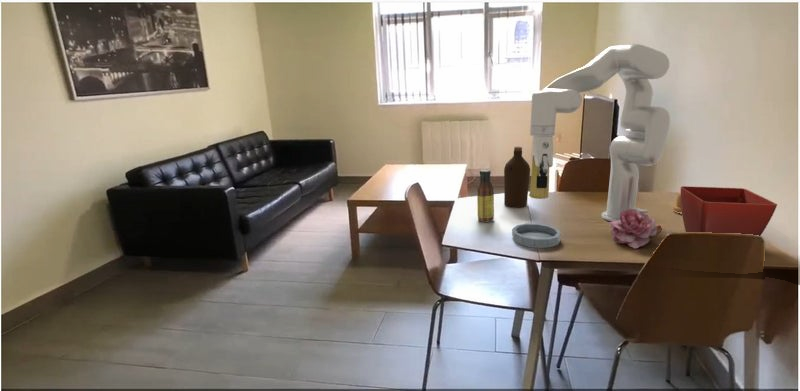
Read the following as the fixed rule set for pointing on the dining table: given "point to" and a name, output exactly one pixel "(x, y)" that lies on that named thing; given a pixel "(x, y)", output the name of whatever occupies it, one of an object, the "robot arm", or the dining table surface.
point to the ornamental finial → (678, 204)
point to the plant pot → (725, 210)
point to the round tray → (536, 235)
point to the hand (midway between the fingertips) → (539, 184)
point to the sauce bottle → (485, 197)
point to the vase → (534, 191)
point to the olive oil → (516, 180)
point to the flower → (634, 228)
